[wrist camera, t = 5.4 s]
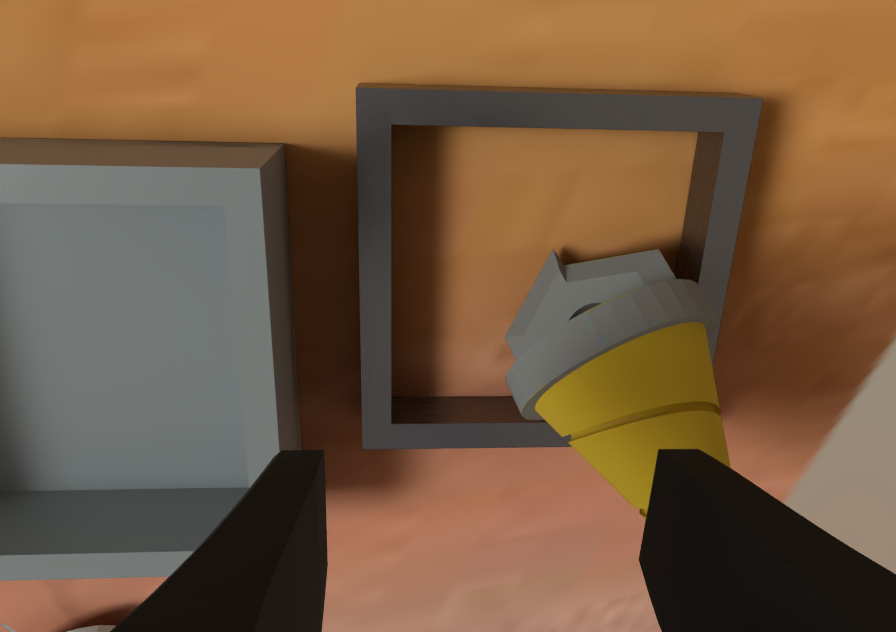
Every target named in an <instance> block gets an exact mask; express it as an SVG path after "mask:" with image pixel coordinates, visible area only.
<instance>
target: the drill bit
mask: <svg viewBox="0 0 896 632" xmlns="http://www.w3.org/2000/svg"><path fill="white" fill-rule="evenodd" d="M718 323H719V319H718V316H717V315H716V313H715V311H714V310H713V308H712V307H711V305H710V303H709V302H708V300H707V298H706V297H705V295H704V294H703V292H702V290H701V289H700V287H699V286H698V284H697V283H696V282H694V281H692V280H685V279H676V277H675V275H674V274H673V272H672V271H671V269H670V267H669V266H668V264H667V262H666V261H665V259H664V257H663V256H662V254H661V252H660V251H659V249H655V250H650V251H644V252H638V253H632V254H627V255H621V256H615V257H609V258H604V259H598V260H592V261H586V262H581V263H575V264H569V265H563V263H562V262H561V260H560V259H559V257H558V256H557V254H556V252H555V251H554V249H553V250H552V252H551V254H550V256H549V257H548V259H547V261H546V263H545V265H544V266H543V268H542V270H541V272H540V274H539V276H538V277H537V279H536V281H535V283H534V285H533V287H532V288H531V290H530V292H529V294H528V296H527V298H526V299H525V301H524V303H523V305H522V307H521V308H520V310H519V312H518V314H517V316H516V318H515V319H514V321H513V323H512V325H511V327H510V329H509V330H508V332H507V334H506V336H505V338H506V340H507V342H508V344H509V346H510V348H511V350H512V352H513V354H514V357H515V359H516V361H515V362H514V364H513V365H512V366H511V367H510V369H509V371H508V373H507V375H506V383H507V385H508V387H509V389H510V391H511V394H512V396H513V398H514V400H515V402H516V404H517V406H518V409H519V411H520V413H521V415H522V416H523V417H524V418H525V419H528V420H542V419H544V420H545V421H546V422H547V423H548V424H550V425H551V426H552V427H553V428H554V429H555V430H556V431H557V432H558V433H559V434H560V435H561V436H562V437H564V436H567V435H569V434H571V440H569V441H568V443H569V444H570V445H571V446H572V447H573V448H574V449H575V450H576V451H577V452H578V453H579V454H580V455H581V456H582V457H583V458H584V459H585V460H586V461H587V462H588V463H589V464H590V465H591V466H592V467H593V468H594V469H595V470H596V471H597V472H598V473H599V474H600V475H601V476H602V477H603V478H604V479H605V480H606V481H607V482H608V483H609V484H610V485H611V486H612V487H613V488H614V489H615V490H616V491H618V492H619V493H620V494H621V495H622V496H623V497H624V498H625V499H626V500H627V501H628V502H629V503H630V504H631V505H632V506H633V507H634V508H638V509H640V514H641V515H642V516H643V517H644V518H645V519H646V516H647V511H648V505H649V499H650V494H651V488H652V482H653V477H654V471H655V465H656V460H657V454H658V449H699V450H701V451H703V452H705V453H707V454H708V455H710V456H712V457H713V458H715V459H717V460H718V461H720V462H721V463H723V464H725V465H726V466H728V467H729V468H730V462H729V457H728V451H727V446H726V440H725V435H724V429H723V423H722V419H721V417H720V407H719V401H718V396H717V390H716V385H715V379H714V374H713V368H712V362H711V357H710V351H709V346H708V340H707V338H708V337H709V336H710V335H711V334H712V333H713V331H714V330H715V329H716V327H717V325H718Z"/></svg>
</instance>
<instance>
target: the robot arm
mask: <svg viewBox="0 0 896 632" xmlns="http://www.w3.org/2000/svg"><path fill="white" fill-rule="evenodd" d="M639 562H640V565H641V569H642V572H643V575H644V579H645V582H646V586H647V589H648V592H649V596H650V599H651V602H652V605H653V608H654V611H655V614H656V617H657V620H658V623H659V625H660V628H661V630H662V632H896V574H894V573H892V572H891V571H889V570H887V569H886V568H884V567H882V566H881V565H879V564H877V563H876V562H874V561H872V560H870V559H869V558H867V557H866V556H864V555H862V554H861V553H859V552H857V551H856V550H854V549H852V548H851V547H849V546H848V545H846V544H844V543H843V542H841V541H840V540H838V539H836V538H835V537H833V536H832V535H830V534H828V533H827V532H826V531H824V530H822V529H821V528H819V527H818V526H816V525H815V524H813V523H812V522H810V521H809V520H807V519H806V518H804V517H803V516H801V515H799V514H798V513H796V512H795V511H793V510H792V509H790V508H789V507H787V506H786V505H785V504H783V503H782V502H780V501H779V500H777V499H776V498H774V497H773V496H771V495H770V494H768V493H767V492H765V491H764V490H762V489H761V488H759V487H758V486H756V485H755V484H753V483H752V482H750V481H749V480H747V479H746V478H744V477H743V476H741V475H740V474H738V473H737V472H735V471H734V470H732V469H731V468H729V467H728V466H726V465H725V464H723V463H721V462H720V461H718V460H717V459H715V458H713V457H712V456H710V455H708V454H707V453H705V452H703V451H701V450H699V449H658V454H657V460H656V465H655V471H654V477H653V482H652V488H651V494H650V499H649V505H648V511H647V516H646V522H645V528H644V533H643V539H642V544H641V550H640V556H639ZM327 565H328V563H327V529H326V495H325V461H324V450H281V451H280V452H279V453H278V454H277V455H275V456H274V457H273V459H272V460H271V461H270V463H269V464H268V465H267V466H266V468H265V469H264V470H263V472H262V473H261V474H260V476H259V477H258V478H257V479H256V481H255V482H254V483H253V484H252V486H251V487H250V488H249V489H248V491H247V492H246V493H245V494H244V496H243V497H242V498H241V499H240V500H239V502H238V503H237V504H236V505H235V506H234V508H233V509H232V510H231V511H230V512H229V513H228V514H227V516H226V517H225V518H224V519H223V520H222V521H221V522H220V523H219V525H218V526H217V527H216V528H215V529H214V530H213V531H212V533H211V534H210V535H209V536H208V537H207V538H206V539H205V540H204V541H203V543H202V544H201V545H200V546H199V547H198V548H197V549H196V550H195V551H194V552H193V553H192V554H191V555H190V556H189V557H188V558H187V559H186V560H185V561H184V562H183V563H182V564H181V565H180V566H179V567H178V568H177V569H176V570H175V571H174V572H173V573H172V574H171V575H170V576H169V577H168V578H167V579H166V580H165V581H164V582H163V583H162V584H161V585H160V586H159V587H158V588H157V589H156V590H155V591H154V592H153V593H152V594H151V595H150V596H149V597H148V598H147V599H146V600H145V601H144V602H143V603H141V604H140V605H139V606H138V607H137V608H136V609H135V610H134V611H133V612H132V613H131V614H129V615H128V616H127V617H126V618H125V619H124V620H123V621H122V622H120V623H119V624H118V625H117V626H116V627H115V628H113V629H112V630H111V631H110V632H321V631H322V621H323V610H324V600H325V588H326V577H327Z"/></svg>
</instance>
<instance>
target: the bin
mask: <svg viewBox="0 0 896 632" xmlns="http://www.w3.org/2000/svg"><path fill="white" fill-rule="evenodd" d="M281 450H301V433H300V415H299V397H298V379H297V361H296V343H295V325H294V307H293V289H292V272H291V254H290V236H289V218H288V200H287V182H286V164H285V146H284V143H243V142H193V141H143V140H93V139H43V138H0V581H9V580H48V579H88V578H128V577H167V576H170V575H171V574H172V573H173V572H174V571H175V570H176V569H177V568H178V567H179V566H180V565H181V564H182V563H183V562H184V561H185V560H186V559H187V558H188V557H189V556H190V555H191V554H192V553H193V552H194V551H195V550H196V549H197V548H198V547H199V546H200V545H201V544H202V543H203V541H204V540H205V539H206V538H207V537H208V536H209V535H210V534H211V533H212V531H213V530H214V529H215V528H216V527H217V526H218V525H219V523H220V522H221V521H222V520H223V519H224V518H225V517H226V516H227V514H228V513H229V512H230V511H231V510H232V509H233V508H234V506H235V505H236V504H237V503H238V502H239V500H240V499H241V498H242V497H243V496H244V494H245V493H246V492H247V491H248V489H249V488H250V487H251V486H252V484H253V483H254V482H255V481H256V479H257V478H258V477H259V476H260V474H261V473H262V472H263V470H264V469H265V468H266V466H267V465H268V464H269V463H270V461H271V460H272V459H273V457H274V456H275V455H277V454H278V453H279V452H280V451H281Z"/></svg>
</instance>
